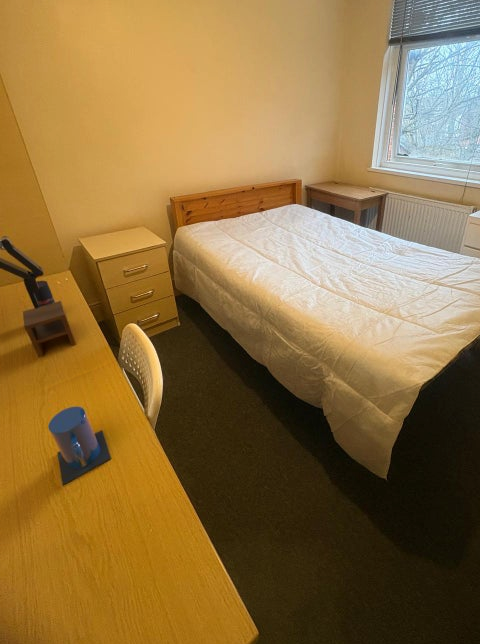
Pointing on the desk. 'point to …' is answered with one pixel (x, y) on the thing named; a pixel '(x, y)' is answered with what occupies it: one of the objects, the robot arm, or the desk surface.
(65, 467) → the mat
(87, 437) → the blue oval cylinder
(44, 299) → the deodorant
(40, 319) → the shelf
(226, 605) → the desk surface
